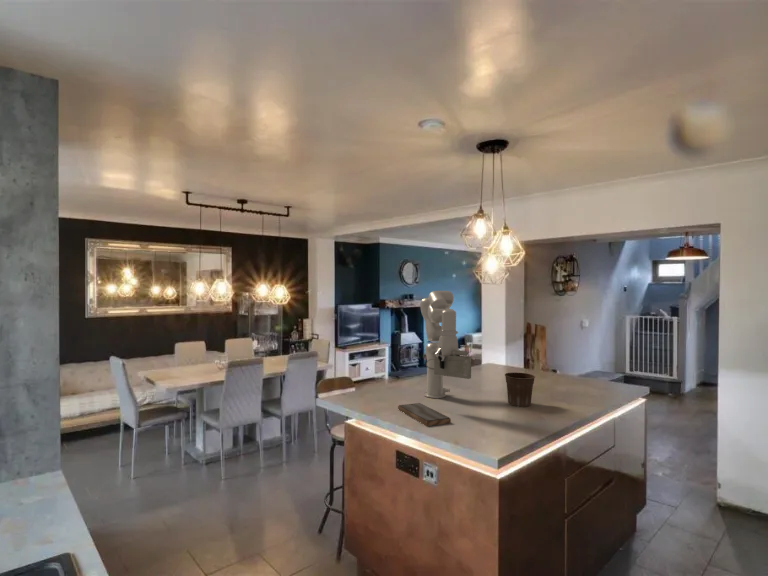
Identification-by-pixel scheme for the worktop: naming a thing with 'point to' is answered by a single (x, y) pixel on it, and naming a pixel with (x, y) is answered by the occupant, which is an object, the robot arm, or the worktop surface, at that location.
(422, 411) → the brown wooden board
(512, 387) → the plant pot
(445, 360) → the geiger counter
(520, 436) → the worktop surface
